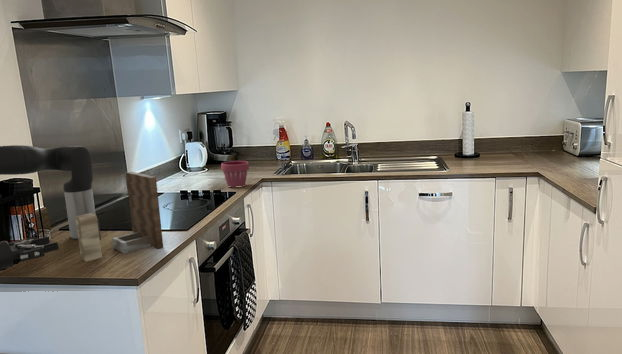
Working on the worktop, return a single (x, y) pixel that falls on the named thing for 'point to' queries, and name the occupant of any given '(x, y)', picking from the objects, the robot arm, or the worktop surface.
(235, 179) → the plant pot
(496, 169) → the worktop surface
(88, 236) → the ridged beige block
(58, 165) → the robot arm
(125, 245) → the upright wooden board
